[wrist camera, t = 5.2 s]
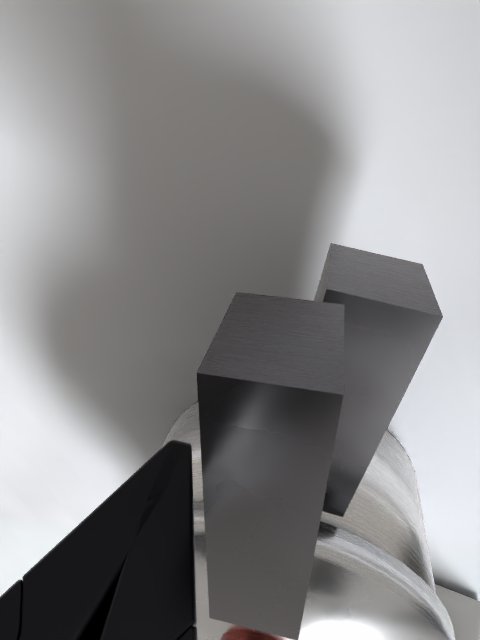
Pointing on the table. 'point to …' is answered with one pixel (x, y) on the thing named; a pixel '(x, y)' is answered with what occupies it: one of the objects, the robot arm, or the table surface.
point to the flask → (461, 613)
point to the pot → (368, 402)
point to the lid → (287, 491)
